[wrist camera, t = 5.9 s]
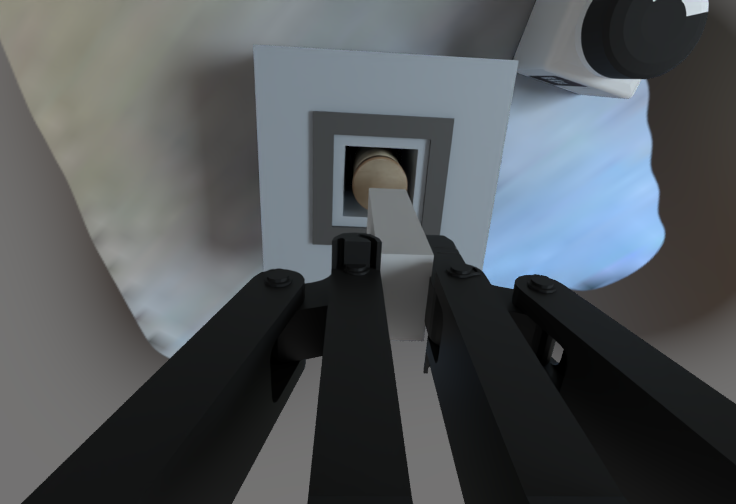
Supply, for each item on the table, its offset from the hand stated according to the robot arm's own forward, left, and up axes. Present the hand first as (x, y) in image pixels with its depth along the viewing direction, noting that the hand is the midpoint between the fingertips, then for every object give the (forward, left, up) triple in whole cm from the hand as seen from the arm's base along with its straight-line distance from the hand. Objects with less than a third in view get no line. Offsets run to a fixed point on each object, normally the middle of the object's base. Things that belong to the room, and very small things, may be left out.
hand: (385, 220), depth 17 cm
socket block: (+2, +1, -25) cm, 25 cm away
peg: (+2, +1, -23) cm, 23 cm away
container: (-10, +17, -25) cm, 32 cm away
